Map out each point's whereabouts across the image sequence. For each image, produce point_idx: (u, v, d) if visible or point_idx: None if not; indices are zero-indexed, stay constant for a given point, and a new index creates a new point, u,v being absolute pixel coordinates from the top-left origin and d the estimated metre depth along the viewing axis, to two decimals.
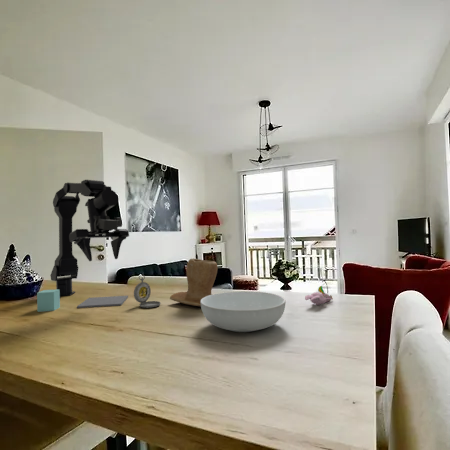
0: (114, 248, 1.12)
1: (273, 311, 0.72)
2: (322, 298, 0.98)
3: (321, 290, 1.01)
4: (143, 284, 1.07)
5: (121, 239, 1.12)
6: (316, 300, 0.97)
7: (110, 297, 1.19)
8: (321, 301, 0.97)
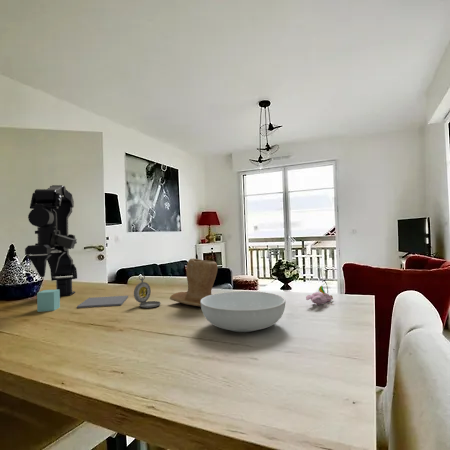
0: (52, 262, 1.11)
1: (273, 311, 0.72)
2: (323, 298, 0.98)
3: (322, 290, 1.01)
4: (143, 284, 1.07)
5: (62, 254, 1.12)
6: (317, 300, 0.97)
7: (110, 297, 1.19)
8: (322, 301, 0.98)
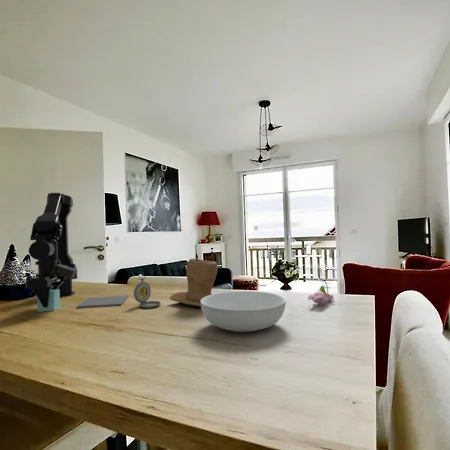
0: None
1: (273, 311, 0.72)
2: (324, 298, 0.98)
3: (323, 290, 1.01)
4: (143, 284, 1.07)
5: (61, 283, 1.10)
6: (318, 300, 0.97)
7: (110, 297, 1.19)
8: (323, 301, 0.98)
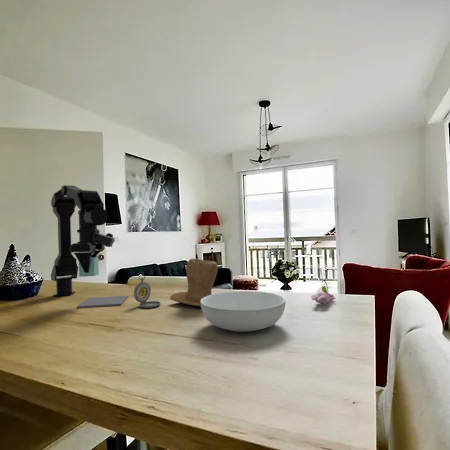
0: None
1: (273, 311, 0.72)
2: (327, 298, 0.98)
3: (325, 290, 1.01)
4: (143, 284, 1.07)
5: (99, 252, 1.16)
6: (321, 300, 0.97)
7: (110, 297, 1.19)
8: (326, 301, 0.98)
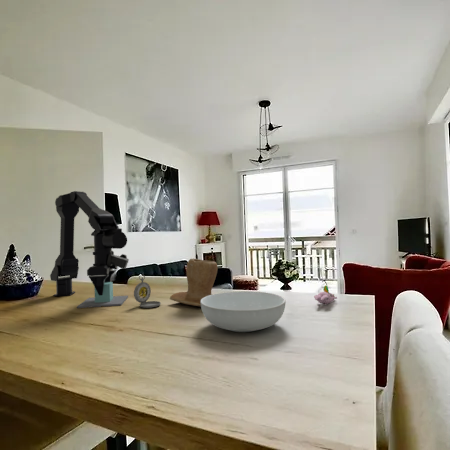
0: (105, 280, 1.18)
1: (273, 311, 0.72)
2: (329, 297, 0.98)
3: (326, 289, 1.02)
4: (143, 284, 1.07)
5: (114, 272, 1.20)
6: (324, 300, 0.98)
7: None
8: (329, 300, 0.98)
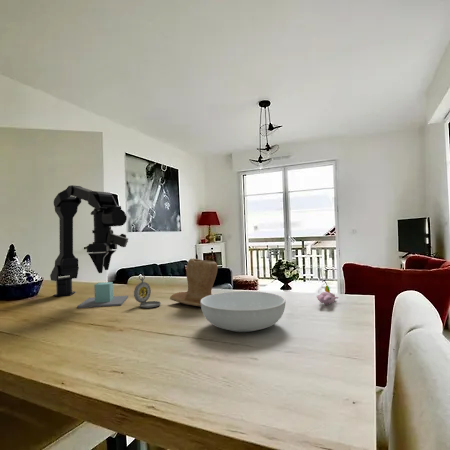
0: (105, 259, 1.19)
1: (273, 311, 0.72)
2: (331, 297, 0.98)
3: (328, 289, 1.02)
4: (143, 284, 1.07)
5: (113, 252, 1.20)
6: (326, 300, 0.97)
7: None
8: (331, 300, 0.98)
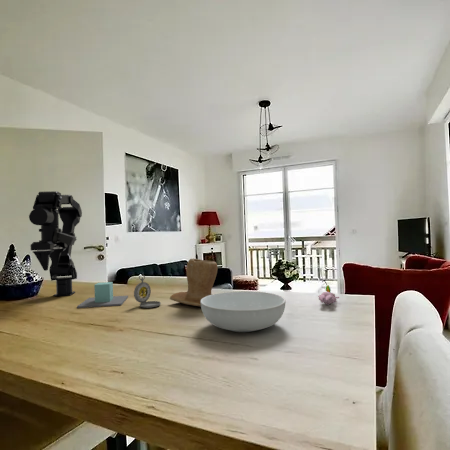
0: (54, 257, 1.22)
1: (273, 311, 0.72)
2: (333, 297, 0.98)
3: (329, 289, 1.02)
4: (143, 284, 1.07)
5: (63, 250, 1.24)
6: (328, 299, 0.98)
7: None
8: (332, 300, 0.98)
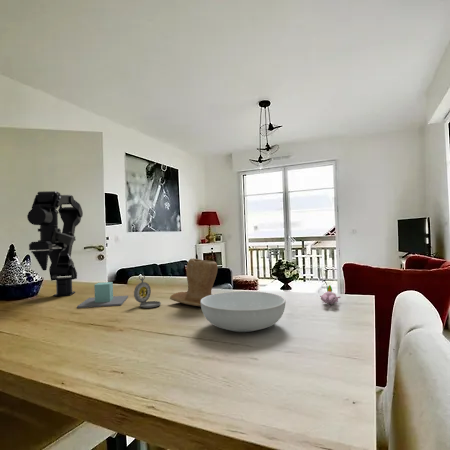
0: (53, 257, 1.22)
1: (273, 311, 0.72)
2: (335, 297, 0.99)
3: (331, 289, 1.02)
4: (143, 284, 1.07)
5: (62, 250, 1.24)
6: (331, 299, 0.98)
7: None
8: (335, 300, 0.98)
